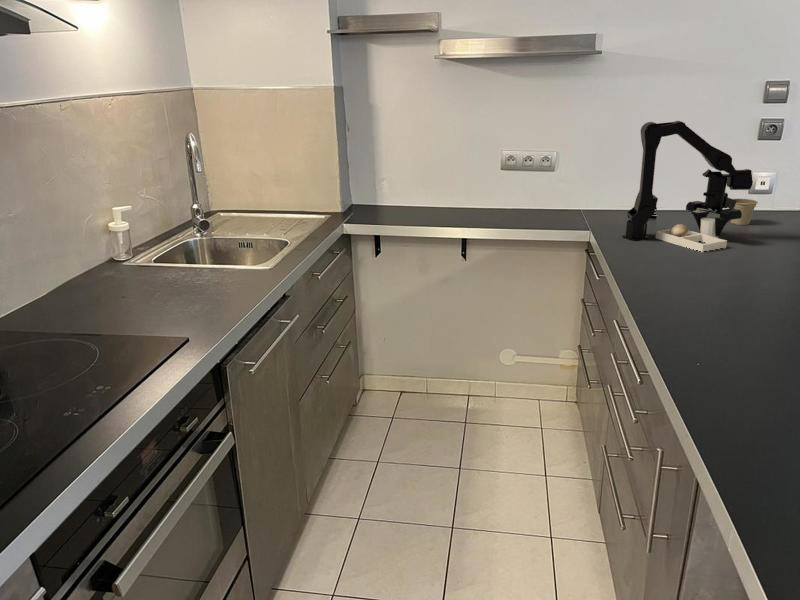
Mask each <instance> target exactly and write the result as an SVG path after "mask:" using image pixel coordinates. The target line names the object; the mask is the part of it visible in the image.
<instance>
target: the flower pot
mask: <svg viewBox="0 0 800 600" xmlns="http://www.w3.org/2000/svg"><path fill="white" fill-rule="evenodd" d="M732 199H733V200H736V201H737V202H736V205H735V207H734V209H738V210H741V212H742V216H741V218H739V219H733V220H730V224H733V225H736V226H737V225H738V226H745V225H747V226H748V225H750V222H751V219H752V216H753V213H754V210H755V208H756V207H757V205H758V204H759V203H758V201H757V200H754V199H751V198H750V199H749V198H732Z"/></svg>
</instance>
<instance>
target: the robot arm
mask: <svg viewBox="0 0 800 600" xmlns="http://www.w3.org/2000/svg"><path fill="white" fill-rule="evenodd" d="M675 135H677V136H678V137H679V138H681V139H682V140H683V141H685V142H686V143H687V144H689V145H690V146H691V147H692V148H693V149H694V150H696V151H697V152H698V153H700V154H701V156H702V157H703V158H704V161H706V163H707V165H709V166H710V167H711V168H713V169H715V170H716V171H712V170H711V169H709V168H708V169H707V170H706V171H705V172H703V173H702V174H701V176H703V177H704V178H708V179H707V184H706V192H703V197H704V196H705V200H704V201H699V200H695V201H688V202H687V203H686V205H685V211H689V212H691V213H690V214H691V215H693V217H694V220H695V222H696V224H697V227H698V230H699V231H700V229H701V218H704V217H707V216H708V215H709V214H710V213H711V214H712V213H713V214H717V215H719V217H714V218H715V235H716V237H718V238H719V237H720V235H721V233H722V231H723V230H724V228H725V226H726V225H727V224H728V223H729V221H731V220H733V219H739V218H741V216H742V212H741V210H738V209H734V207H735V205H736V202H737V201H736V200H733V199H734V198H730V197H729V192H726V190H727V188H728V189H729V190H731V191H744V190H745V191H748V190H749V191H750V190H751V188H752V186H753V182H754V180H753V174H752V169H748V168H745V169H736V168H735V166H734V165H733V158H732V156H731V155H730V154H728V153H727V152H724V151H723V150H721V149H718V148H716V147H715V146H712V145H711V144H710V143H709V142H707V141H706V140H705V139H703V137H701V136H700V135H699V134H698V133H696V132H695V131H694V130H693V129H691V128H690V127H689V126H687V124H686V122H683V121H680V120H675V121H672V122H671V121H669V122H668V121H667V122H659V123H656V122H654V121H649V122H647V121H646V122H645V123H644V124H643V125H642V126H641V128H640V141H641V146H642V159H641V170H640V171H641V172H640V181H639V184H640V185H639V191H638V193H637V195H636V197H635V201H634V205H633V207H632V208H630V210H628V211H627V212H626V215H627V218H628V220H627V221H626V230H625V234H623V235H622V238H625V239H628V240H631V241H641V240H642V241H643V240H648V239H650V238H649V236H647V231H648V224H647V223H648V221H649V219H650V218H652V216H654V214H655V212H656V211H657V210H658V207H657V205H658V199H659V198H658V197H657V196H656V195H654V194H653V193H654V192H653V189H654V180H655V179H654V177H655V168H656V158H657V157H656V156H657V150H658V148H659V145H660V144H661V140H662V137H665V138H666V137H669V136H675ZM722 171H723V172H725V173H722Z"/></svg>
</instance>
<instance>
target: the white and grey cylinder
mask: <svg viewBox="0 0 800 600" xmlns="http://www.w3.org/2000/svg"><path fill="white" fill-rule="evenodd" d="M715 218H716V217H712V216H711V217H710V216H709V217H704V218H701V229H700V230H699V233H700V234H704V235H708V236H711V237H715V238H719V236H718V237H716V235H715Z"/></svg>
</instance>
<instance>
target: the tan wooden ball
mask: <svg viewBox="0 0 800 600" xmlns="http://www.w3.org/2000/svg"><path fill="white" fill-rule="evenodd" d="M670 229H671V235H673V236H677V237H685V236H687V235H688V230H689V229H688V227H687V225H685V224H682V223H677V224H674V225H673V226H672V228H670Z"/></svg>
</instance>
